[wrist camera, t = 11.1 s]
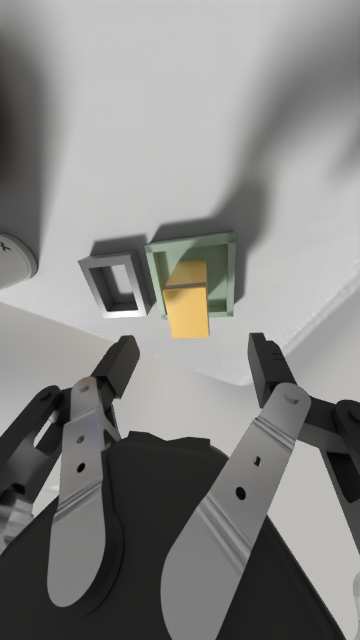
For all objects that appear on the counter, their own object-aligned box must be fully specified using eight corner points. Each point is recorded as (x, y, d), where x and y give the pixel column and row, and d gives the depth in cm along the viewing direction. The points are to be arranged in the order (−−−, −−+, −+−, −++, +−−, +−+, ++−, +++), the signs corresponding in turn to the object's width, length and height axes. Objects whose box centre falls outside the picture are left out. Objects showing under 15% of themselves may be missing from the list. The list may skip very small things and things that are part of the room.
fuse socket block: (136, 250, 22) (129, 254, 20) (151, 307, 27) (147, 315, 24) (89, 256, 23) (77, 261, 21) (111, 309, 28) (103, 318, 26)
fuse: (206, 258, 21) (206, 286, 13) (208, 296, 23) (209, 337, 16) (177, 261, 21) (161, 290, 14) (182, 298, 24) (172, 338, 17)
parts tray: (233, 231, 19) (236, 234, 17) (230, 307, 25) (233, 316, 23) (150, 242, 21) (144, 245, 19) (164, 310, 27) (161, 319, 24)
